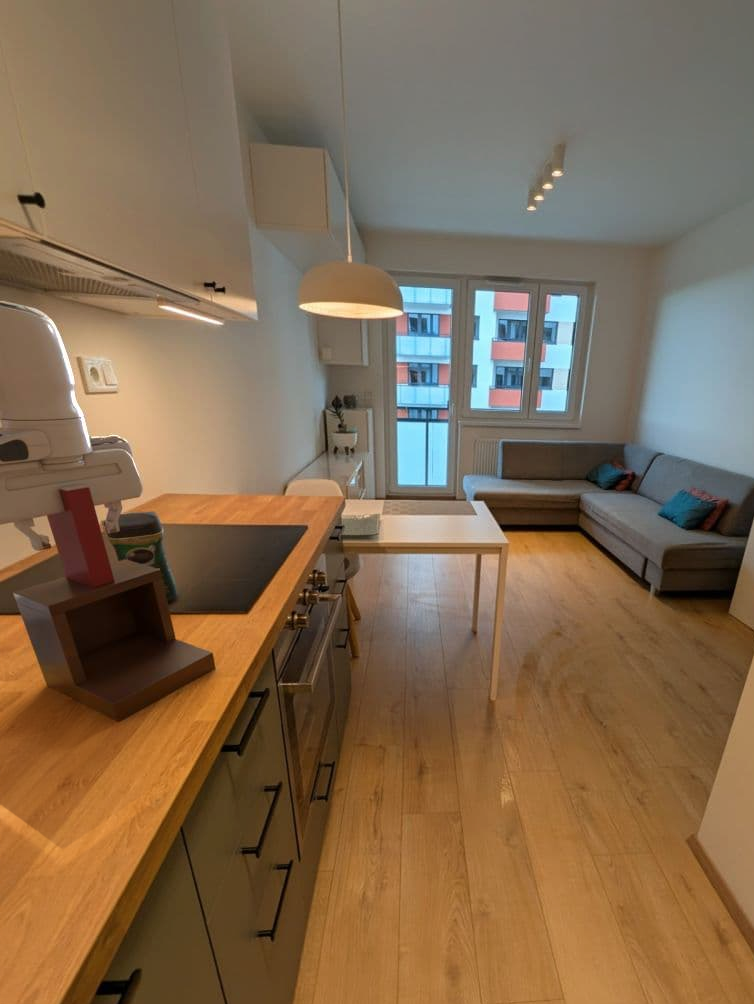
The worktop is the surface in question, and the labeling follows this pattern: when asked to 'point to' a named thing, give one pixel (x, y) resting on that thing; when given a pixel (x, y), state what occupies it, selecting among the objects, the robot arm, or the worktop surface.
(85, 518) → the book
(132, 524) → the coffee jar
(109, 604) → the shelf
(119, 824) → the worktop surface
